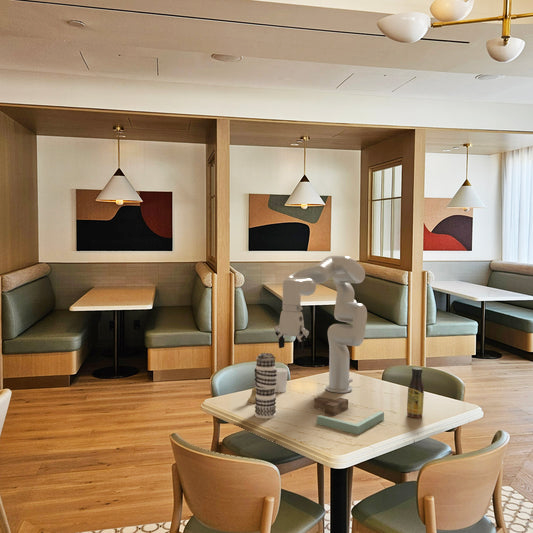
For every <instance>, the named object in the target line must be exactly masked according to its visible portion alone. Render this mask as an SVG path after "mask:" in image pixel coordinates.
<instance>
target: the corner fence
mask: <svg viewBox="0 0 533 533" xmlns="http://www.w3.org/2000/svg"><path fill="white" fill-rule="evenodd" d="M384 420H385V411H381V410H379V411H376V412H375V413H374V414H371V415H369V416H368V417H366V418H364V419H362V420H361V421H358V422H357V423H354V422H350V421H346V420H342V419H337V418H334V417H330V416H326V415H321V414H318V415H317V416H316V425H320V426H323V427H327V428H331V429H335V430H339V431H342V432H347V433H351V434H355V435H359V434H362V433H363V432H365V431H367V430H368V429H370V428H372V427H374V426H375V425H377V424H379V423H381V422H382V421H384Z"/></svg>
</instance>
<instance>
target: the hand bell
mask: <svg viewBox="0 0 533 533" xmlns="http://www.w3.org/2000/svg"><path fill="white" fill-rule="evenodd" d="M256 371H257V370H256ZM255 374H256V373H255V372H254V375H255ZM249 396H250V397H248V399H247V402H249V403H250V404H255V402H256V400H255V398H256V387H253V388H252V389H251V395H249Z"/></svg>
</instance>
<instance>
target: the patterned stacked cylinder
mask: <svg viewBox="0 0 533 533" xmlns="http://www.w3.org/2000/svg"><path fill="white" fill-rule="evenodd" d="M255 359H256V365H255V368H254V377H255V378H254V381H255V384H254V386H255V387H256V398H255V400H256V402H255V403H254V404H255V405H254V409H255V410H254V415H255V417H257V418H260V419H272V418H275V417H276V416H277V414H276V412H277V410H276V408H277V406H276V403H277V402H276V400H277V397H276V392H275V387H276V383H275V381H276V379H275V376H277V374H275V373H276V372H277V370H275V368H276V357H275V356H274V355H273V354H272V353H269V352H261V353H259V354H258V356H256V357H255ZM256 370H257V371H256ZM255 373H256V374H255ZM255 387H254V388H255Z"/></svg>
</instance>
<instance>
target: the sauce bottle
mask: <svg viewBox="0 0 533 533" xmlns="http://www.w3.org/2000/svg"><path fill="white" fill-rule="evenodd" d="M411 368H412V369H411V371H412V372H411V373H412V374H411V380H410V383H409V385H408V388H407V401H406V402H407V403H406V415H407V416H408V417H410V418H413V417H414V419H419V417H420V418H422V417H423V413H424V411H423V410H424V398H425V397H424V395H425V394H424V393H425V392H424V391H425V390H424V389H425V384H424V382H423V381H422V380H423V379H422V374H423V368H421V367H418V366H414V367H411Z"/></svg>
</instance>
